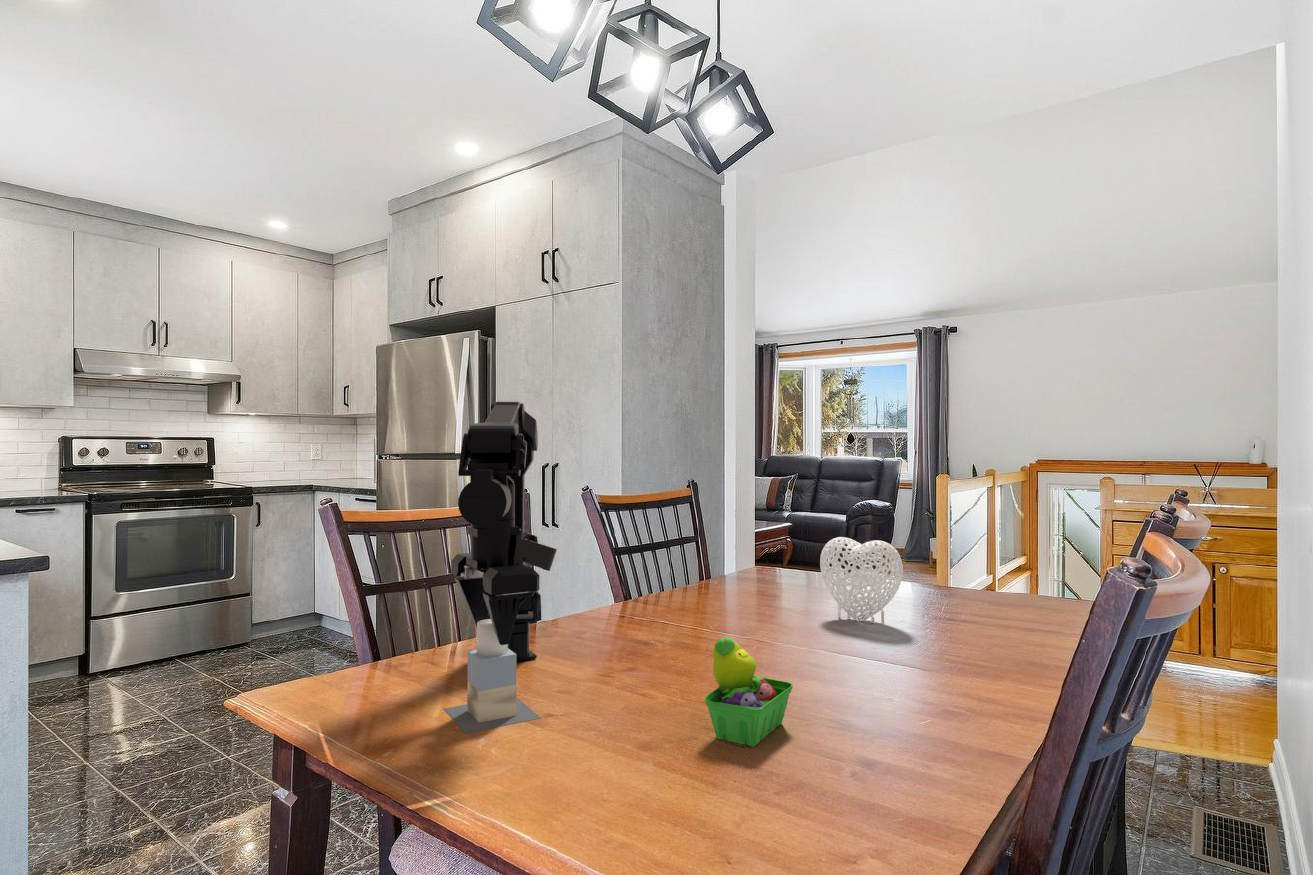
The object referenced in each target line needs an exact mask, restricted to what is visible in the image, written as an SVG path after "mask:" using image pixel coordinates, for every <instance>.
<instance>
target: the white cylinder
mask: <svg viewBox="0 0 1313 875" xmlns="http://www.w3.org/2000/svg"><path fill="white" fill-rule="evenodd" d="M476 649H477V654H478V655H480V656H486V657H492V656H500V655H504V654H506V653H507V652H508V644H506V645H500V644H499V642H498V639H497V636H496V633H495V630H494V627H493V624H492V621H491V619H486V620H481V621H478V622H477V627H476Z"/></svg>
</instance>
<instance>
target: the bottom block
mask: <svg viewBox="0 0 1313 875" xmlns="http://www.w3.org/2000/svg"><path fill="white" fill-rule="evenodd" d="M466 695H467V699H466V700H467V703H466V704H467V711H468V712H469V713H470V714H471V715H472V716H473V717H474V718H475V719H476V720H477V721H478V722H479V723H480V722H485V721H490V720H496V719H501V718H506V717H511V716H516V697H517V684H516V685H512V686H506V687H501V688H495V689H489V690H483V691H478V690H477V689H476V688H475V687H474V686H473V685H472V684H471V683H470V682H468V681H467V694H466Z"/></svg>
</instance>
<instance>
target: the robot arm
mask: <svg viewBox="0 0 1313 875" xmlns="http://www.w3.org/2000/svg"><path fill="white" fill-rule="evenodd" d="M538 434H539V433H538V425H537V420H536V419H535V418H534V417H533V416H532V415H530V414H529V413H528V412H527V411H525V404H524V402H523V403H521V402H520V401H495V402H492V403H491V404H490V412H489V415H488V416H487V417H486V418H485V422H475V423H472V424H471V425H470V426H468V428H467V433H465V432H464V433H463V436H462V441H461V443H462V444H461V449H460V450H461V451H460V458H459V466H458V470H457V471H458V472H457V473H458V474H457V476H458V477H470V482H468V483H467V484H466V485H465V486H464V487H463V488H462V490H461V491H460V494H459V496H458V498H457V499H458V501H457V506H458V510H459V513H460V515H461V517H462V518H463V519H464V520H465V521H466V522H468V523H469V524H470V525H466V529H465V530H466V531H465V532H466V534H467V535H470V552H464V553H462V552H461V553H457V554H456V555H455V556H454V557H453V558H452V559H451V561H450V563H451V565H450V566H451V568H450V570H451V571H450V574H451V575H453V576H455V577H454V578H453V579H454V581H455V582H456V584H457V587H458V589H459V590H460V593H461V595H462V597H463V600H464V602H465V604H466V606H467V609H468V610H469V613H470V616H471V618H472V620H473V623H474V625H475V627H476V628H477V622H478V621H481V620H486V619H491V621H492V624H493V627H494V630H495V633H496V636H497V639H498V642H499V644H500V645H506V644H508V649H510V650H511V651H513V652H514V653H515V654H517V661H516V662H520V661H526V660H532V659H533V660H534V659H537V657H538V656H537V654H536V653H534V652H533V651H531V650H530V636H531V634H530V632H531V631H530V630H531V628H530V625H531V624H537V622H539V621H542V595H541V594H540V593H539V591H540V573H538V572H537V571H536V570H535V569H534V568H533V567H537V568H540V569H541V570H545V571H548V572H550V571H551V569H552V565H553V562H554V559H555V555H556V553H557V551H558V549H557V548H554V547H551V546H548V545H545V544H542V543H539V542H538V536H537V535H534V534H531V533H528V532H525V478H526V477H525V475H526V474H527V472H528V470H529V468H530V467H531V465H532V463H533V461H534V459H535V457H534V456H535V452H537V451H538V445H539V444H538V442H539V441H538V440H539V435H538ZM528 564H529V565H530V566H533V567H530V566H528ZM531 612H532V613H531ZM530 623H531V624H530Z"/></svg>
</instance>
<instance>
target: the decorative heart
mask: <svg viewBox="0 0 1313 875" xmlns="http://www.w3.org/2000/svg"><path fill="white" fill-rule="evenodd" d="M843 549H845V550H843ZM840 554H842V556H841V555H840ZM884 557H885V558H884ZM839 560H840V561H839ZM888 560H889V561H888ZM845 561H846V562H847V563H846V562H845ZM884 563H885V564H884ZM830 564H831V565H830ZM851 564H852V566H851ZM883 564H884V565H883ZM842 566H844V568H843V567H842ZM873 566H875V568H873ZM819 567H820V573H821V576H822V580H823V582H824V585H825V586H826V589H827V590H828V593H829V594H830V595H831V597H832V598H833V599H834V601H835V602H836V604H837V618H838V617H841V615H842V610H843V611H844V612H845V613H846V614H847V619H848V618H850V619H851V618H852V619H853V620H854V621H855V620H856V621H855V622H858V621H863V622H865V621H866V620H868V619H870V618H871V623H874V624H875V617H874V616H875V615H876V614H877V613H879V612H881V613H880V614H881V615H880V616H881V618H880V621H881V622H880V624H881V623H882V624H884V625H885V610H883V609H884V608H885V607H886V606H887V605H888V604H889V603H890V602H891V601H892V600H893V598H895V595H896V594H897V592H898V590H899V589H900V586H901V584H902V580H903V572H904V565H903V561H902V558H901V555H900V553H899V551H898V550H897V549H896V548H895V547H894V545H892V544H891V543H889V542H886V541H883V540H878V539H877V540H876V539H875V540H869V541H865V542H864V543H860V542H858V541H856V540H854V539H852V538H849V537H846V536H845V537H844V536H838V537H835V538H832V539H830V540H828V542H826V544H825V545H824V546H823V548H822V550H821V553H820V559H819ZM857 567H859V568H857ZM849 571H850V572H849ZM889 572H890V574H889ZM847 587H849V588H850V589H847ZM868 587H869V588H870V589H868ZM865 594H867V595H865ZM859 595H860V596H859ZM841 618H842V617H841Z"/></svg>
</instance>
